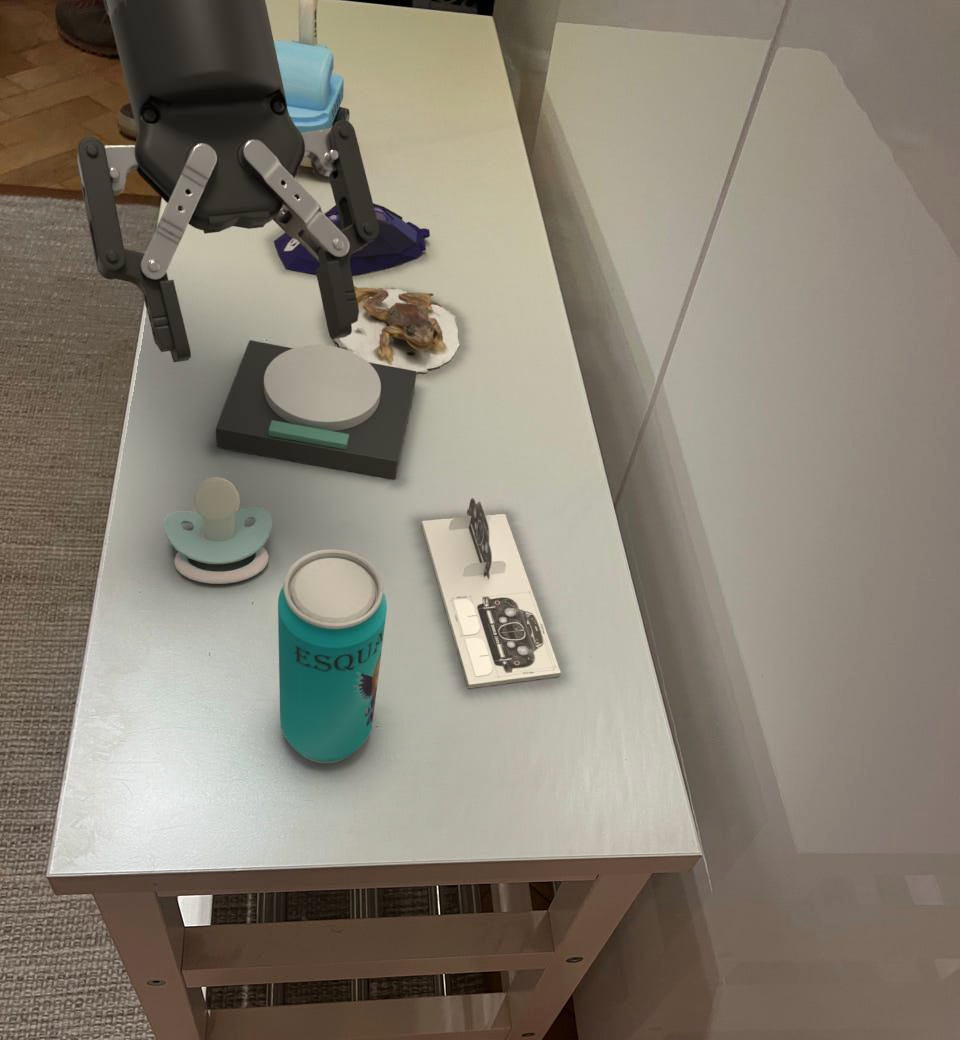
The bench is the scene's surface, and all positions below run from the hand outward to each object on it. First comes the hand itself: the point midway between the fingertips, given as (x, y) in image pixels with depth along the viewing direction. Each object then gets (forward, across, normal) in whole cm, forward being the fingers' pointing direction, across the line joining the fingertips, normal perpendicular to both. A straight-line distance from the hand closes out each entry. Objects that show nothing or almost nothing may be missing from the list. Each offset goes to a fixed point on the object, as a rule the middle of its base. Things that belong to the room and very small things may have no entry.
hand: (264, 348), depth 52 cm
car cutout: (+18, +15, +12) cm, 27 cm away
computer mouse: (-12, +20, +43) cm, 49 cm away
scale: (+3, +9, +27) cm, 29 cm away
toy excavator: (-25, +22, +56) cm, 65 cm away
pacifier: (+12, -2, +19) cm, 22 cm away
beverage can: (+23, 0, +7) cm, 24 cm away
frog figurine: (-3, +20, +33) cm, 39 cm away
